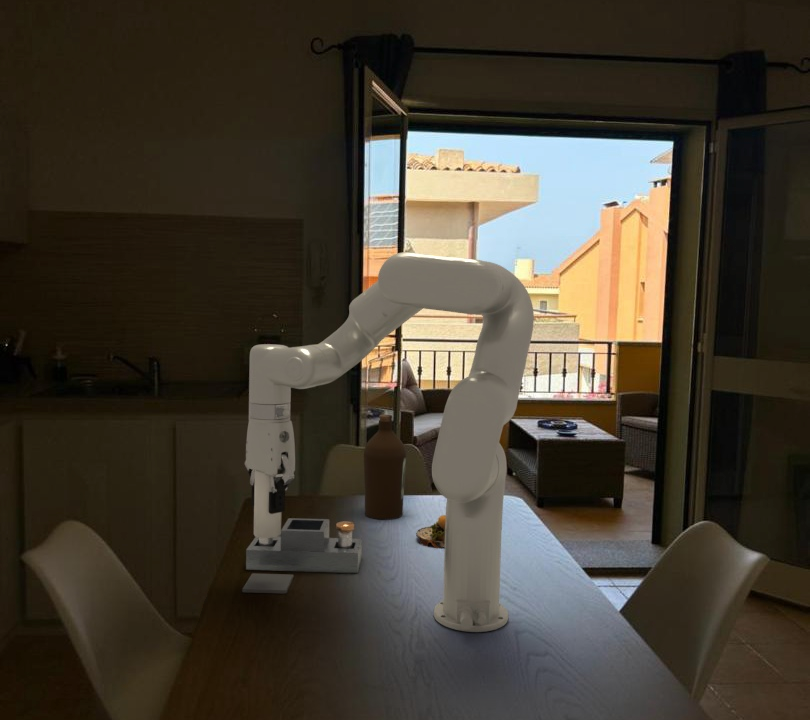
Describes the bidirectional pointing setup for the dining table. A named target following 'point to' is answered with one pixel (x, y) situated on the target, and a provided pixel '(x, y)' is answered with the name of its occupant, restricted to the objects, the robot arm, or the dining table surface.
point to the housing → (304, 550)
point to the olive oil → (384, 472)
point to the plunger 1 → (265, 541)
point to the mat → (268, 583)
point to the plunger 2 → (345, 534)
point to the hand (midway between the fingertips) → (268, 507)
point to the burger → (433, 533)
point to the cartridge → (264, 508)
